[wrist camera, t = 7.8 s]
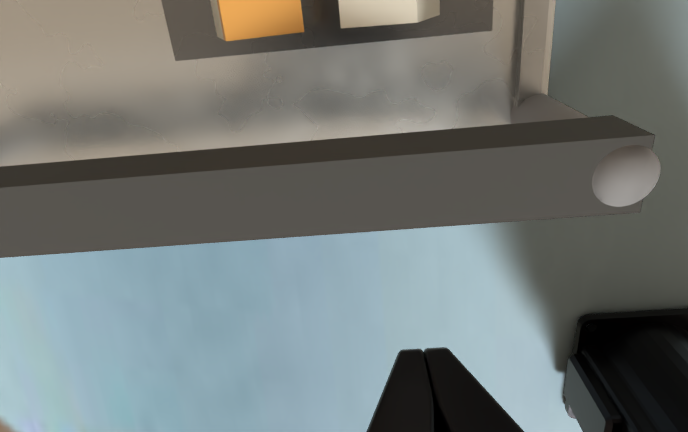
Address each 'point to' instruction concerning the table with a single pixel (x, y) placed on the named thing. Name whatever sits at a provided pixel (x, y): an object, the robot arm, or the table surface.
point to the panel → (253, 76)
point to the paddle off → (256, 18)
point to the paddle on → (385, 12)
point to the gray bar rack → (333, 185)
